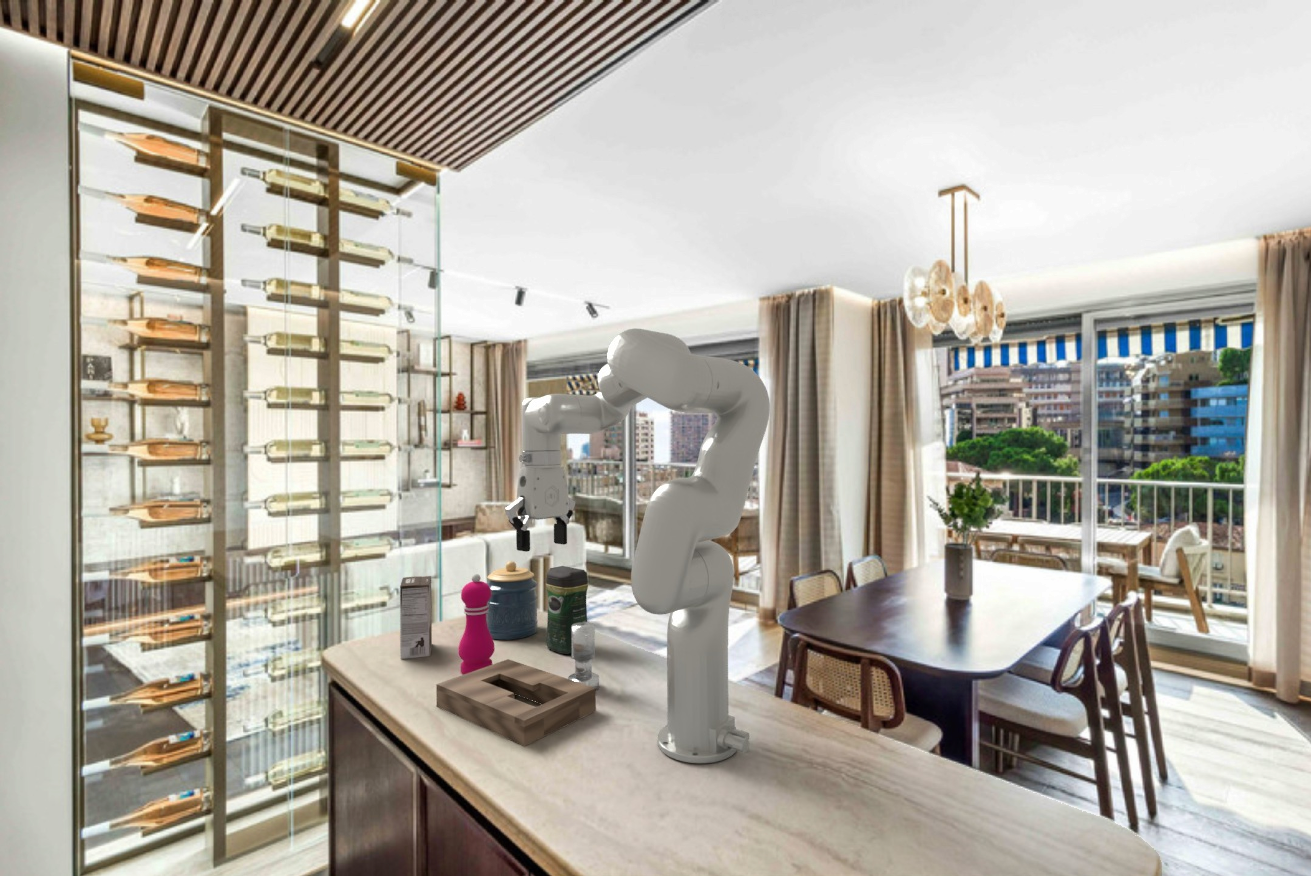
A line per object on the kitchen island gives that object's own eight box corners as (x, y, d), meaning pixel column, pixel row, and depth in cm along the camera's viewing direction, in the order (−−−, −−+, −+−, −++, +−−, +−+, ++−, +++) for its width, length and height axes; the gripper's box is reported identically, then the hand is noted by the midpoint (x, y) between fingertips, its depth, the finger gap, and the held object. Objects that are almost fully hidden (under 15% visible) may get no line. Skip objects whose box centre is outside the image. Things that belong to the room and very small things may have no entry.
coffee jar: (594, 648, 143) (594, 567, 143) (567, 657, 137) (567, 572, 137) (567, 639, 149) (566, 561, 149) (540, 648, 143) (540, 567, 143)
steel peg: (605, 686, 121) (605, 624, 121) (583, 696, 116) (583, 631, 116) (583, 679, 124) (583, 619, 124) (561, 689, 120) (560, 626, 120)
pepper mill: (499, 664, 133) (499, 570, 133) (487, 677, 126) (486, 578, 126) (466, 663, 133) (466, 570, 134) (452, 676, 126) (451, 577, 126)
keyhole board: (595, 710, 110) (595, 687, 110) (524, 746, 97) (524, 720, 97) (508, 679, 125) (508, 659, 125) (436, 706, 112) (436, 683, 112)
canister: (545, 634, 153) (545, 562, 153) (493, 644, 146) (493, 568, 146) (527, 621, 164) (526, 554, 164) (477, 630, 157) (477, 559, 157)
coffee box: (402, 646, 145) (402, 576, 145) (432, 643, 147) (432, 574, 147) (399, 659, 136) (398, 585, 136) (430, 656, 138) (430, 583, 138)
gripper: (519, 461, 114) (520, 555, 114) (586, 459, 128) (586, 542, 128) (493, 461, 119) (494, 551, 119) (560, 458, 133) (561, 539, 132)
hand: (542, 547), depth 123 cm, fingers open, 9 cm apart
